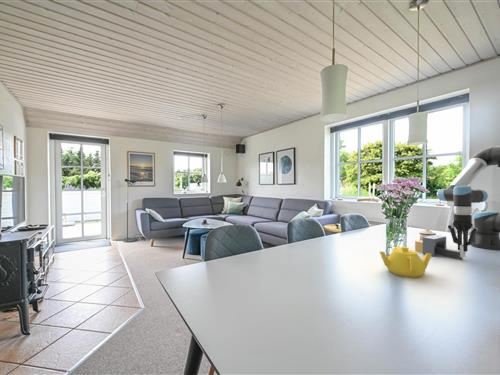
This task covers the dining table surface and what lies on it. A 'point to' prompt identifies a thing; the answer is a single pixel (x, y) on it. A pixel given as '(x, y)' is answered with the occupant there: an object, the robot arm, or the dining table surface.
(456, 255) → the plug
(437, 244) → the housing
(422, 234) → the teacup with lid
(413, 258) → the teapot
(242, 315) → the dining table surface
